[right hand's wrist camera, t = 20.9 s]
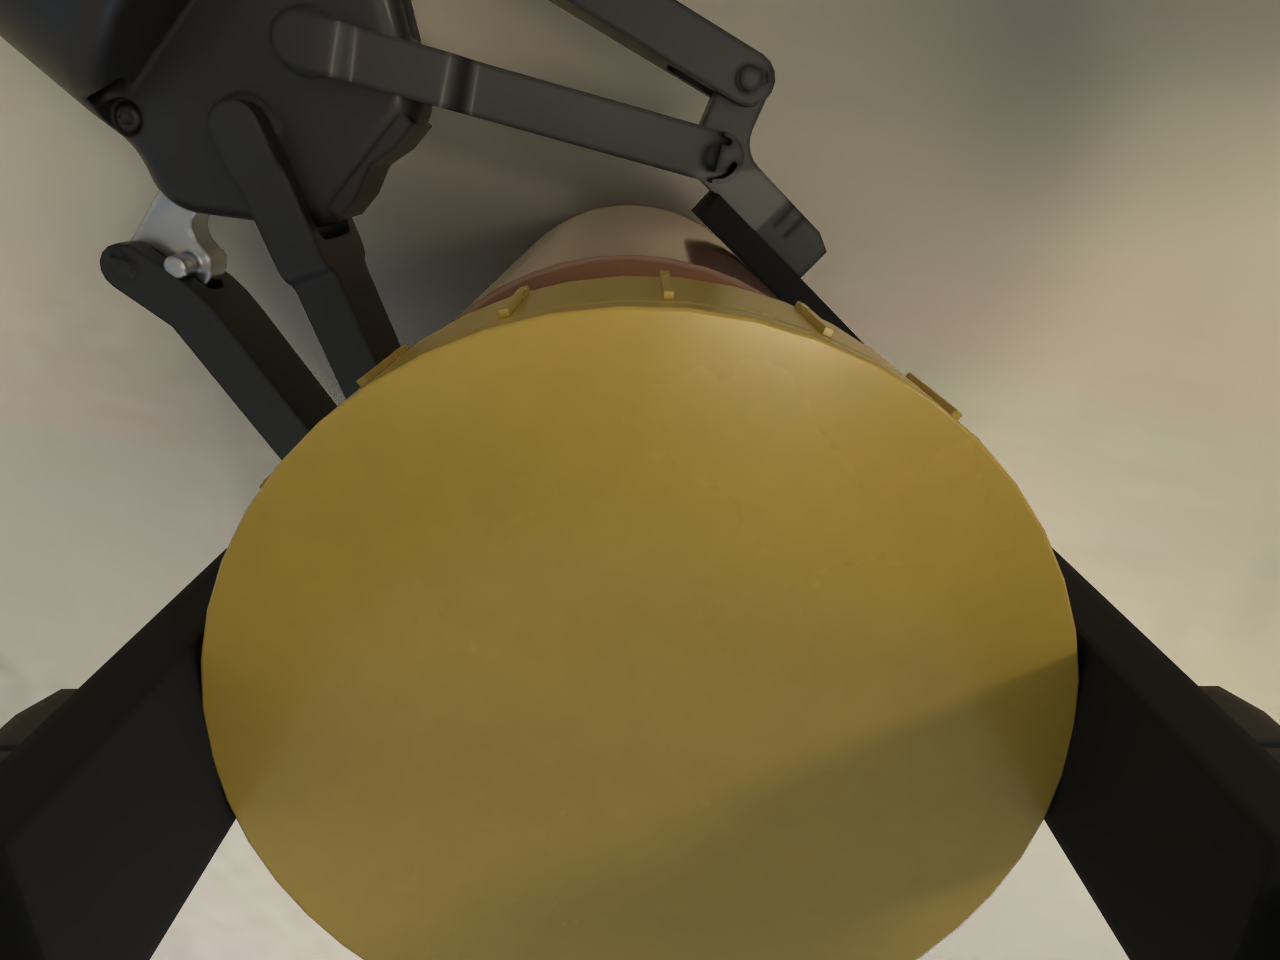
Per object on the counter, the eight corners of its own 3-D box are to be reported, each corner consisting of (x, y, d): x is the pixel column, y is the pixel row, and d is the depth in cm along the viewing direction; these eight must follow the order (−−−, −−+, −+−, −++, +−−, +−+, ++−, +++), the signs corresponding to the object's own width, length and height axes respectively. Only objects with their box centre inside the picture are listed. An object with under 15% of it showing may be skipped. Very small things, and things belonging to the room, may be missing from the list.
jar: (472, 221, 28) (280, 307, 13) (756, 189, 28) (911, 239, 13) (517, 484, 32) (408, 801, 16) (770, 458, 32) (904, 756, 16)
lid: (869, 954, 15) (910, 1096, 12) (253, 849, 14) (179, 982, 12) (1125, 376, 11) (1248, 430, 9) (306, 185, 10) (213, 193, 8)
